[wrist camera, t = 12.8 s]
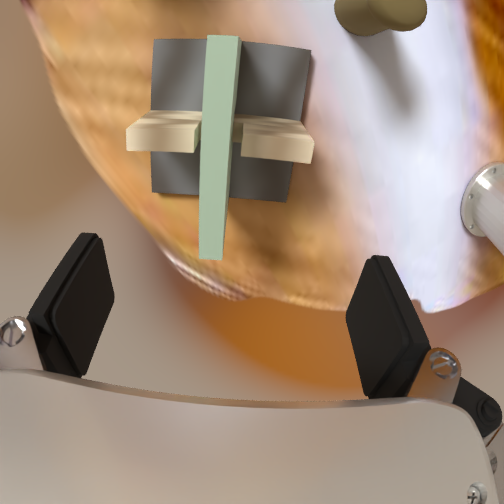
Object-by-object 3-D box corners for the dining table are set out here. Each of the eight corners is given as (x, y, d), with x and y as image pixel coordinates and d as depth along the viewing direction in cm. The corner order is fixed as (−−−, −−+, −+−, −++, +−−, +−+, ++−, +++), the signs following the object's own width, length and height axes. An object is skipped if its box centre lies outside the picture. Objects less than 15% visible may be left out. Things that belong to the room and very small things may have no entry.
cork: (394, 27, 26) (448, 27, 17) (350, 43, 28) (392, 44, 19) (371, -19, 23) (418, -37, 14) (324, -4, 24) (357, -23, 16)
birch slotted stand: (309, 50, 28) (330, 51, 21) (285, 197, 39) (294, 240, 31) (156, 39, 27) (127, 38, 20) (154, 188, 38) (132, 228, 30)
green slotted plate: (221, 40, 27) (207, 34, 17) (241, 41, 27) (238, 36, 17) (211, 196, 37) (198, 258, 28) (228, 197, 37) (222, 260, 28)
